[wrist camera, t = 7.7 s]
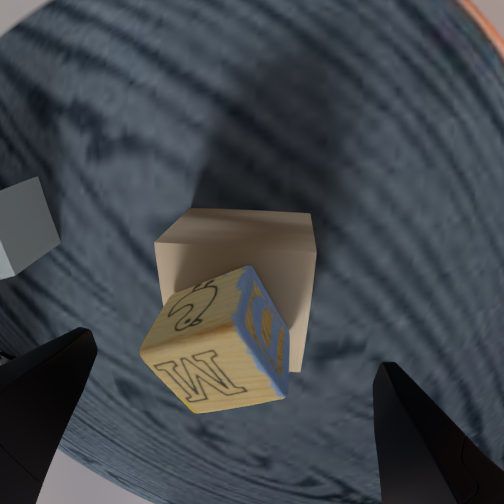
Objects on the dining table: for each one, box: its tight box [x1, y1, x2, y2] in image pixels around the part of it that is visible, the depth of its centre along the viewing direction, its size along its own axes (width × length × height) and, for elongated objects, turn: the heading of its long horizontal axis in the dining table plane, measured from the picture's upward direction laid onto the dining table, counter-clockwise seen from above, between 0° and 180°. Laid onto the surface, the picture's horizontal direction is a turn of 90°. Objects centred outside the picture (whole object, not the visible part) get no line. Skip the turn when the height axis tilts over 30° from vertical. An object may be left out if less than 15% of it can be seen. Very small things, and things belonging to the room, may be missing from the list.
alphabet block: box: [140, 266, 290, 413], centre depth 9 cm, size 3×3×3 cm
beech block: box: [154, 208, 317, 372], centre depth 12 cm, size 5×5×4 cm
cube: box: [0, 176, 61, 280], centre depth 12 cm, size 4×4×4 cm
